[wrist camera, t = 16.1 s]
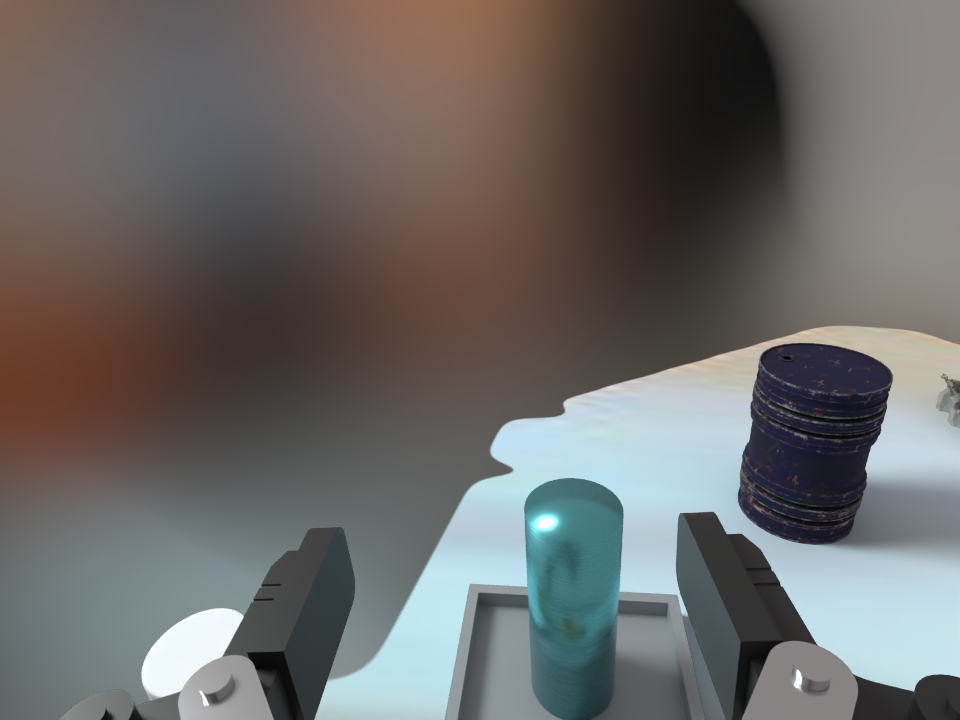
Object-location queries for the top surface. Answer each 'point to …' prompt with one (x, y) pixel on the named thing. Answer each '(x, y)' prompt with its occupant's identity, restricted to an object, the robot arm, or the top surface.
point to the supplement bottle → (187, 650)
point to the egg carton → (950, 401)
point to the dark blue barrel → (811, 439)
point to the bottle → (573, 595)
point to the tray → (507, 665)
